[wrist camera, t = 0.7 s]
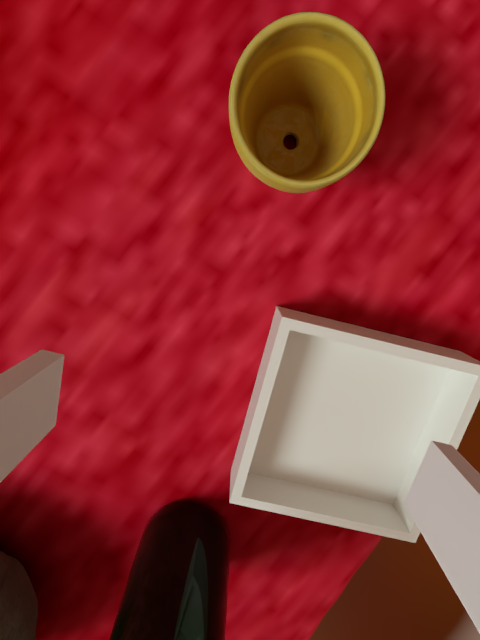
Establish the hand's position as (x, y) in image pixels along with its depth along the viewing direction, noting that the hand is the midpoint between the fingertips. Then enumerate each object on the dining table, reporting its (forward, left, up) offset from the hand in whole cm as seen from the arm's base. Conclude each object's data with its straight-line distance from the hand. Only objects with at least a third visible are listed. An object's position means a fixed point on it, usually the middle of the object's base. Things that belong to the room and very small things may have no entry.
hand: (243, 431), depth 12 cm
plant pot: (-16, 0, -24) cm, 29 cm away
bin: (+9, +13, -24) cm, 29 cm away
